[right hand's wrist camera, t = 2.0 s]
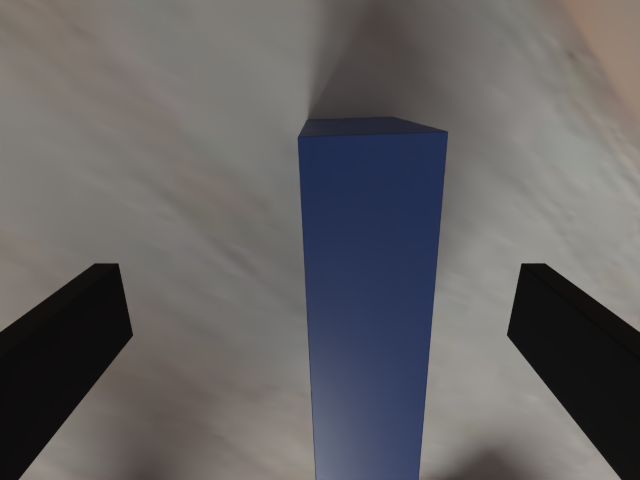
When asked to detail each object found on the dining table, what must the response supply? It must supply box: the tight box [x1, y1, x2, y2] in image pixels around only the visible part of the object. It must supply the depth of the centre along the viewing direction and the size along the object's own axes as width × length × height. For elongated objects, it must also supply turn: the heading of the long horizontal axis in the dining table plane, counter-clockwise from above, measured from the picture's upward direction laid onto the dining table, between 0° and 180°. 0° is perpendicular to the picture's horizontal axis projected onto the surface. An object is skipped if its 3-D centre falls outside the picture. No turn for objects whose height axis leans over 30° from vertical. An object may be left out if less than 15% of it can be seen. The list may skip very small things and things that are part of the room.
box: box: [298, 117, 448, 480], centre depth 25 cm, size 21×6×12 cm, turn 2°
